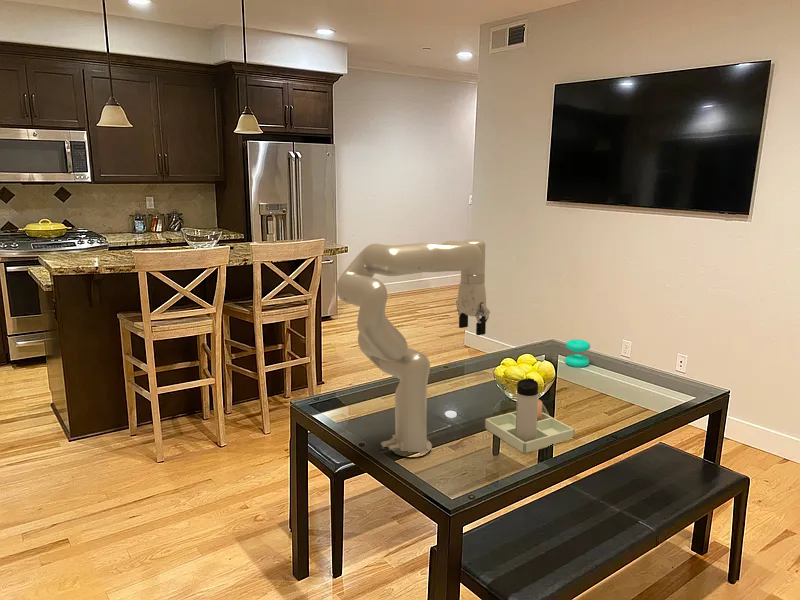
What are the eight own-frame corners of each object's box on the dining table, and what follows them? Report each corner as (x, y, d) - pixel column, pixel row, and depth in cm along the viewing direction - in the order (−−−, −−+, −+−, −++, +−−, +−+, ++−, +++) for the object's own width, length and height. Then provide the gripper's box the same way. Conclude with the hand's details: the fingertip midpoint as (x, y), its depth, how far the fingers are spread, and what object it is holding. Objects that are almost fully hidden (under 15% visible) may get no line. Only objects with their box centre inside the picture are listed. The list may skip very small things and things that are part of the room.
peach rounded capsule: (529, 430, 190) (529, 407, 188) (515, 422, 196) (516, 400, 194) (545, 426, 193) (546, 403, 192) (531, 418, 199) (532, 396, 198)
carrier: (524, 456, 176) (524, 443, 175) (484, 430, 193) (485, 419, 192) (574, 441, 185) (574, 429, 184) (532, 417, 202) (532, 407, 201)
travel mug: (539, 440, 183) (541, 380, 179) (532, 449, 178) (534, 387, 173) (519, 436, 186) (521, 376, 182) (512, 444, 181) (514, 383, 176)
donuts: (581, 346, 246) (561, 341, 253) (579, 369, 248) (560, 363, 256) (595, 342, 252) (575, 337, 259) (593, 364, 254) (574, 358, 262)
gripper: (448, 275, 192) (447, 326, 196) (478, 284, 178) (477, 339, 181) (467, 273, 196) (466, 323, 200) (499, 282, 181) (497, 335, 185)
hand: (471, 330), depth 191 cm, fingers open, 9 cm apart
